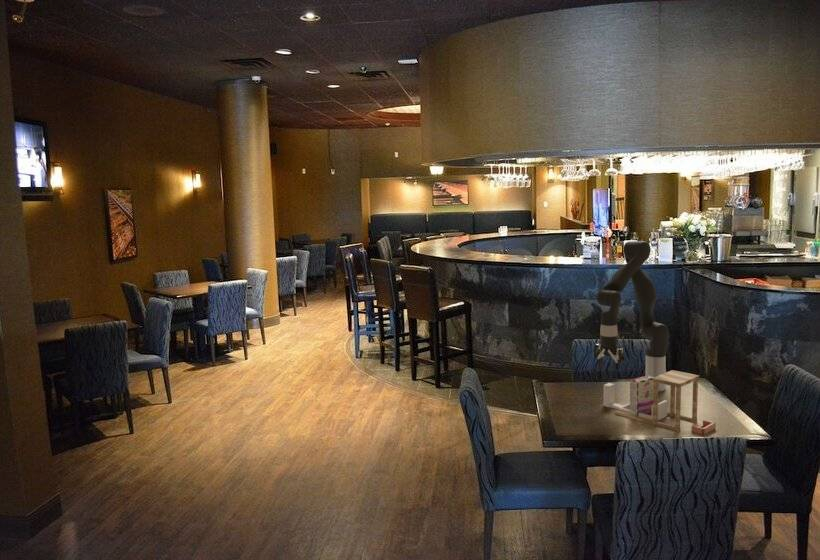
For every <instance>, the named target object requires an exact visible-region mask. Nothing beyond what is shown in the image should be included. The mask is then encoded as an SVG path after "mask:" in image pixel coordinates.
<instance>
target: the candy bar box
mask: <svg viewBox="0 0 820 560" xmlns="http://www.w3.org/2000/svg"><path fill="white" fill-rule="evenodd" d="M653 378H654V377H652V376H649V375H647V376H645V375H644V376H639V377H635V378H632V379H629V403H630V410H631V411H633V412H635V416H638V413H643V414H647V415H651V416H652V406H653V383H654V382H652V380H653Z"/></svg>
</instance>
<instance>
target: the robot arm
mask: <svg viewBox="0 0 820 560" xmlns="http://www.w3.org/2000/svg"><path fill="white" fill-rule="evenodd" d="M651 252H652V251H651V245H650V243H649V242H648V241H645V240H635V241H634V240H633V241H627V242H625V243H624V245H623V256H624V260H625V262H626V263H625V264H624V265H622V266H621V267H620V268H619V269H617V271H616V272H615V273H614V274H613V276H612V277H611V279H610V280H609V281H608V283H606V284H605V285H604V286H603V287H602V288H601V289H600V290H599V291H598V293H597V295H596V302H597V304H599V305H600V306H604V307H605V306H606V307H609V310H608V309H607V310H603V311H602V312H601V313H600V329H599V331H600V337H599V340H600V341H599V342H600V343H596V344H595V345H594V346H593V347H594V349H593V350H594V351H593V357H594V358H596V359H597V366H598V367H599V368H603V366H604V356H605V357H610V358H611V359H613V360H614V362H615V363H614V368H615V369H614V370H615V371H616V372H618V371H619V370H621V363H623V362H625V350H624V349H625V348H624V347H622V348H618V344H619V343H618V338H619V337H618V333H619V332H618V330H619V328H618V313H619V309H620V306H621V303H622V295H621V292H623V291H624V290H625V288H626V287H627V285H628V283H629V281H630V279H631V282H632V286H633V290H634V294H635V298H636V302H637V306H638V311H639V312H638V313H639V315H640V316H639V317H640V324H641V332H642V335H643V337H644V338H645V339H647V340H648V341H651V343H652V344H651V346H650V347H647V348H646V349H645V372H644V373H645V375H644V376H647V375H649V376H652V377H656V376H659V375H661V374H664V373H666V372H667V368H666V363H667V362H666V358H667V357H666V356H667V355H666V354H667V351H668V347H669V338H670V336H669V334H670V333H669V328H668V326H667V325H666V324H663V323H660V322H656V319H655V315H654V307H655V304H656V303H657V302H656V301H657V293H656V289H655V285H654V282H653V280H651V278H650V277H649V276H648V275H647V274H646V273H645V272H644V270H643V269H642V265H643V264H645V262H646V261H647V260H648V258H649V257H650V255H651ZM600 350H601V352H600ZM666 388H667V387H666V384H661V383H658V393H660V392H664V391H665V390H666Z"/></svg>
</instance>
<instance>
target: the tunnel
mask: <svg viewBox="0 0 820 560" xmlns="http://www.w3.org/2000/svg"><path fill="white" fill-rule="evenodd" d="M699 380H700V375H697V374H694V373H689V372H683V371H678V370H673V369H671V370H669V371H666V373H664V374H661V375H659V376H656V377H654V378H653V380H652V382H654V383H653V420H649V419H645V418H642V417H638V416H634V415H631V414H627V413H623V412H620V411H618V410H615V411H614V415H618V416H621V417H625V418H629V419H632V420H635V419H636V420H637V421H639V420H640V421H639V422H643V421H644V423H646V422H647V424H650V425H653V426H658V427H661V428H664V429H665V428H666V429H668V430H672V431H675V432H681V420H684V421H687V422H691V423H695V424H696V423H698V394H699V392H698V391H699V390H698V389H699ZM658 383H661V384H666V385H667V386H670V395H669V396H670V397H669V398H670V399H669V404H670V405H669V411H667V416H668V417H671V418H675V419H674V425H671V424H667V423H663V422H661V421H660V422H659V420H658V403H659V392H658ZM689 384H692V407H691V409H692V410H691V417H690V416H687V415H683V414H681V410H682V409H681V407H682V406H681V404H682V403H681V401H682V400H681V399H682V387H684V386H686V385H689Z"/></svg>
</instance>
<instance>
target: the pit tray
mask: <svg viewBox="0 0 820 560" xmlns="http://www.w3.org/2000/svg"><path fill="white" fill-rule="evenodd" d="M716 427H717V426H716V421H715V422H713V421H711V420H707V419H702V424H701V425H699V426H696V425H691V433H692V434H694V435H695V434H696V435H699V436H702V437H705V436H706V435H709V434H710V433H711V432H713V431H714V430H715V431H716Z"/></svg>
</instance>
